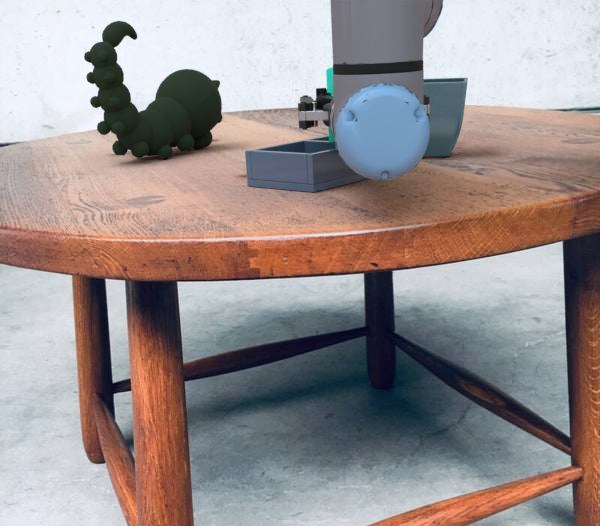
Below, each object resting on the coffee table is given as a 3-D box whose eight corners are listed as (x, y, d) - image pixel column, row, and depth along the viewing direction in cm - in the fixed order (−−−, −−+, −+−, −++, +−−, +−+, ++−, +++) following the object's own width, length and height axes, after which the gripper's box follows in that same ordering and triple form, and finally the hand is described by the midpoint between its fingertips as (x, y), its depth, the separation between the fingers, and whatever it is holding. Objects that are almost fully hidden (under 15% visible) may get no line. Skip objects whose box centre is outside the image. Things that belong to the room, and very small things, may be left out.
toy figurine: (142, 181, 117) (251, 139, 135) (114, 24, 109) (235, 2, 127) (90, 178, 122) (202, 137, 140) (59, 28, 113) (183, 6, 132)
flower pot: (466, 149, 117) (467, 76, 113) (465, 159, 109) (467, 80, 105) (398, 151, 118) (397, 79, 115) (393, 161, 110) (392, 83, 107)
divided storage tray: (416, 167, 105) (415, 133, 104) (314, 192, 92) (312, 154, 91) (351, 162, 111) (350, 130, 110) (247, 186, 98) (244, 150, 97)
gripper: (274, 164, 87) (277, 136, 108) (465, 154, 87) (430, 129, 108) (270, 81, 84) (274, 70, 105) (467, 71, 84) (431, 62, 105)
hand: (353, 100), depth 107 cm, fingers closed on candle, 5 cm apart
